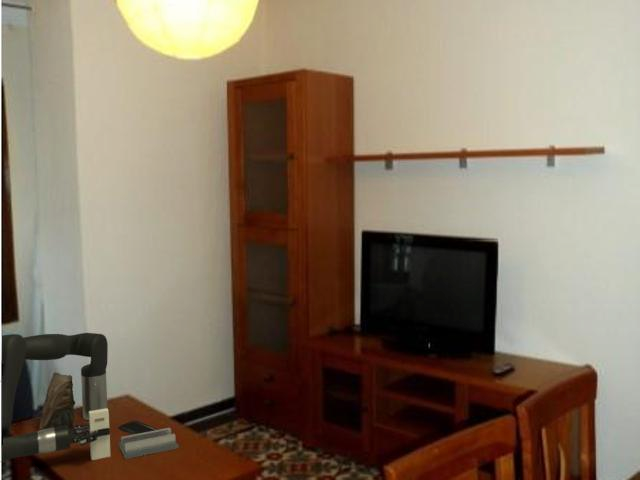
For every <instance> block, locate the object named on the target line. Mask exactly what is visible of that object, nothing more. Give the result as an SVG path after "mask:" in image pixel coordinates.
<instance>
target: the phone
mask: <svg viewBox="0 0 640 480" xmlns="http://www.w3.org/2000/svg"><path fill="white" fill-rule="evenodd" d="M118 429H119V430H121V431H123V432H126V433H128V434H130V435H134V434H139V433H144V432H150V431H155V430H159V429H158V428H156V427H155V426H152V425H148V424H147V423H144V422H141V421H138V420H132V421H129V422H126V423H123V424H120V425H118Z"/></svg>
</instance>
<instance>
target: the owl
mask: <svg viewBox="0 0 640 480" xmlns="http://www.w3.org/2000/svg"><path fill="white" fill-rule="evenodd" d="M73 387H74V384H73V376H72V375H71V374H69V375H67V374H61V373H59V372H53V374H52V377H51V380H50V382H49V385H48V388H47V390H46V394H45V400H44V403H43V406H42V411H41V414H40V415H41V416H40V422H39V430H38V431H41V430H44V429H49V428H54V427H60V426H65V425H67V426H68V428H69V430H70V429H73V428H75V425H74V421H75V417H76V415H75V408H74V406H75V404H76V402H75V398H74V390H73Z"/></svg>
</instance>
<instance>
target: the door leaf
mask: <svg viewBox="0 0 640 480" xmlns="http://www.w3.org/2000/svg"><path fill="white" fill-rule="evenodd" d="M109 412H110V411H109V409H108V407H107V408H105V409H100V410H94V411H89V420H88V424H89V430H90V431H92V430H99V429H104V428H109V429H110V413H109ZM110 437H111V434H109V435H105V436H99V437H98V438H97V440H96V441H93V442H90V443H89V447H90V448H89V449H90V451H89V452H90V459H91V461H95V460H101V459H103V458H104V459H105V458H111V438H110Z"/></svg>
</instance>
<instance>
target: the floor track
mask: <svg viewBox="0 0 640 480" xmlns="http://www.w3.org/2000/svg"><path fill="white" fill-rule="evenodd" d="M179 446H180V445H179V443H177V441H176V434H175V433H172V429H171V427H165V428H161V429H158V430H155V431H150V432H144V433H139V434H134V435H132V434H130V435H125V436H121V437H120V442H119V443H118V447H119V450H120V451H121V453H122V455H123V458H124V459H125V460H130V459H133V458H134V457H135V458H139V457H143V455H144V456H148V454H149V455H152V454H153V453H154V454H157V453H162V452H167V451H172V450H177V449H179ZM138 456H139V457H138ZM135 458H134V459H135Z"/></svg>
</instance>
